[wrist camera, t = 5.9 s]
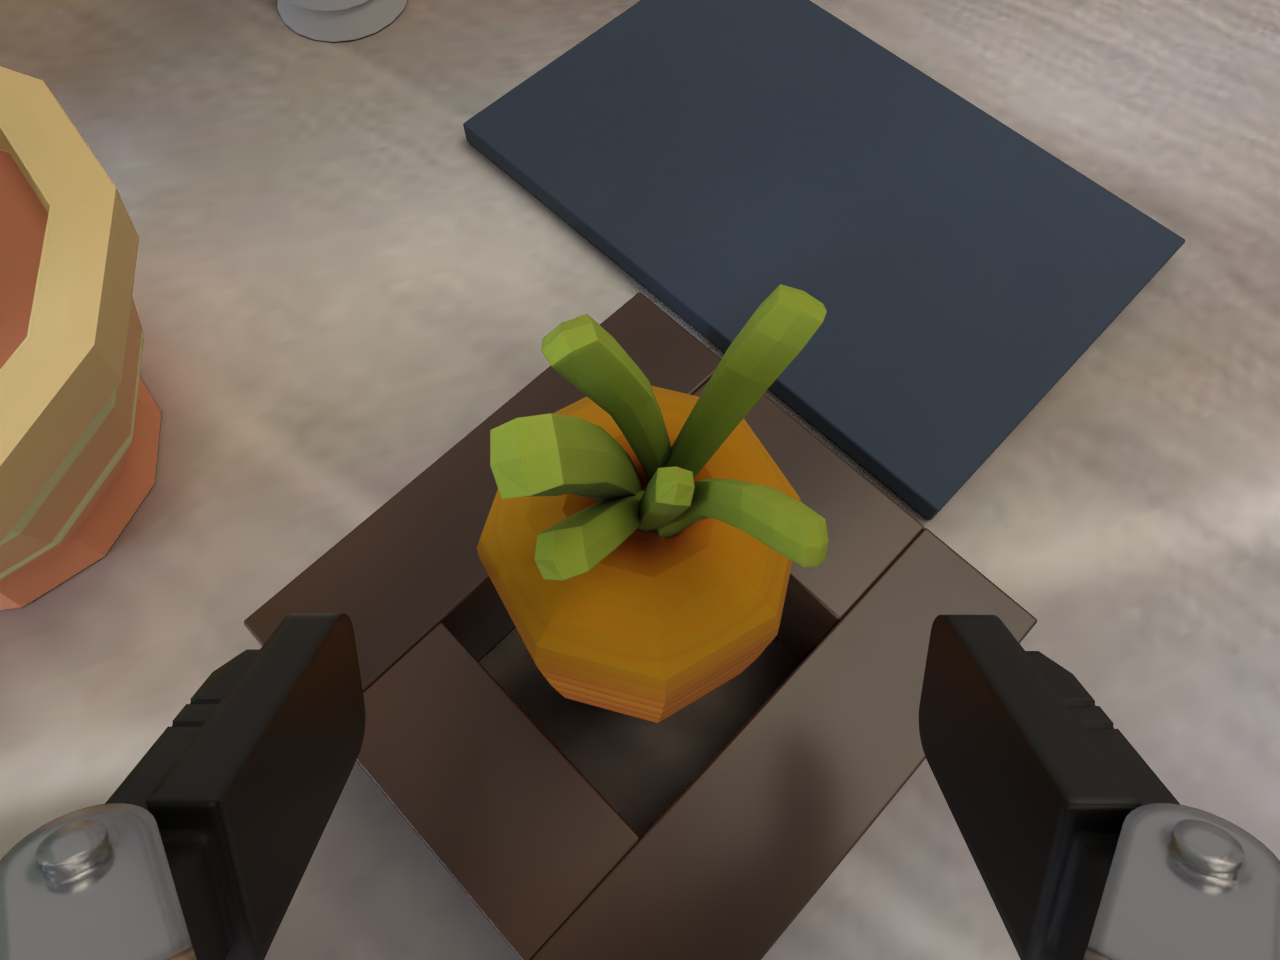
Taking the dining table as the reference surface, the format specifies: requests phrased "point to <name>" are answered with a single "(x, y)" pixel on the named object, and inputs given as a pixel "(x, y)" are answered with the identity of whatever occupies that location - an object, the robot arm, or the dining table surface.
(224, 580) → the dining table surface
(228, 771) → the robot arm
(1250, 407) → the dining table surface
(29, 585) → the potted cactus
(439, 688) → the stand
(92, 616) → the dining table surface
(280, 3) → the chalice
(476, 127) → the mat
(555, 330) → the carrot
